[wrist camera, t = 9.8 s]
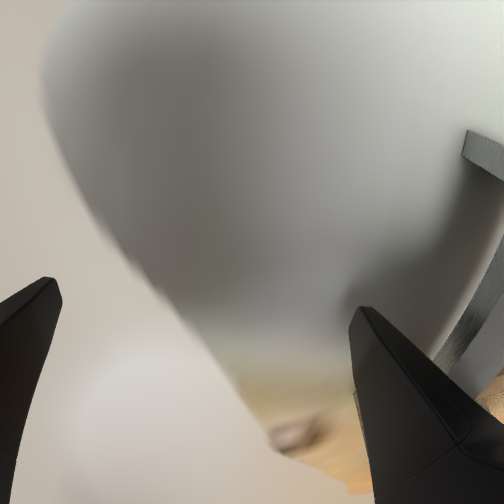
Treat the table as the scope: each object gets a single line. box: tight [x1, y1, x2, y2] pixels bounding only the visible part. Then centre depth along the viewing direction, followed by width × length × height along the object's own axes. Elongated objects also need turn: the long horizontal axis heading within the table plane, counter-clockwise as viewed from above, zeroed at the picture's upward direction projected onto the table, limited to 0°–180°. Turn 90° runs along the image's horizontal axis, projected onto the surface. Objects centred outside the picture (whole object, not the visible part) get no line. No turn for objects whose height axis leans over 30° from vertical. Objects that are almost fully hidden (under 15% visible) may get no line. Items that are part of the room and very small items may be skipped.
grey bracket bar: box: [353, 130, 504, 455], centre depth 8 cm, size 3×12×3 cm, turn 174°
